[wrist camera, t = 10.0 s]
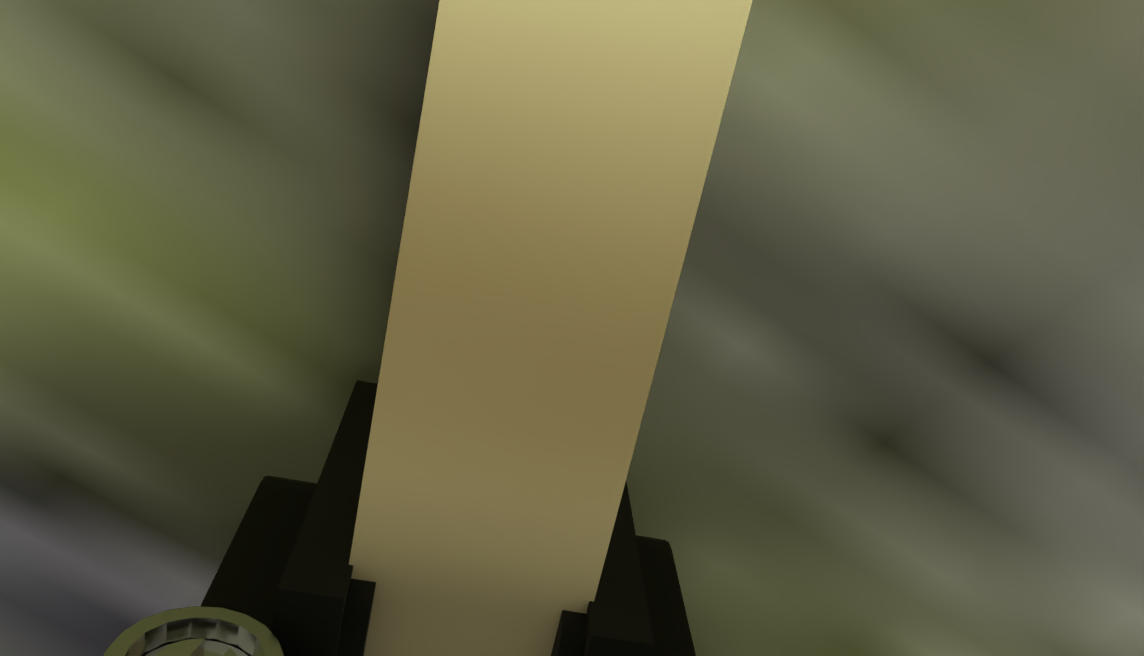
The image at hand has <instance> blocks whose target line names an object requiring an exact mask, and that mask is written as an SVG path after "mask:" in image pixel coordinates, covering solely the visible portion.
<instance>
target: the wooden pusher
mask: <svg viewBox="0 0 1144 656" xmlns="http://www.w3.org/2000/svg"><path fill="white" fill-rule="evenodd" d="M752 1H753V0H440V1H439V7H438V13H437V20H436V26H435V32H434V38H433V45H432V51H431V57H430V63H429V69H428V76H427V82H426V88H425V94H424V101H423V107H422V113H421V119H420V125H419V132H418V138H417V144H416V150H415V156H414V163H413V169H412V175H411V181H410V188H409V194H408V200H407V206H406V212H405V219H404V225H403V231H402V237H401V243H400V250H399V256H398V262H397V268H396V275H395V281H394V287H393V293H392V299H391V306H390V312H389V318H388V324H387V330H386V337H385V343H384V349H383V355H382V362H381V368H380V374H379V380H378V386H377V393H376V399H375V405H374V411H373V417H372V424H371V430H370V436H369V442H368V449H367V455H366V461H365V467H364V473H363V480H362V486H361V492H360V498H359V504H358V511H357V517H356V523H355V529H354V536H353V542H352V548H351V554H350V560H349V565H353V571H352V577H351V578H352V579H359V580H366V581H372V582H376V587H375V593H374V599H373V604H372V610H371V616H370V622H369V627H368V633H367V639H366V645H365V651H364V656H551V653H552V649H553V645H554V641H555V637H556V633H557V629H558V625H559V621H560V617H561V613H562V610H566V611H572V612H579V613H586V614H587V608H588V604H589V601H593V602H594V600H595V596H596V592H597V588H598V584H599V581H600V577H601V573H602V569H603V565H604V562H605V558H606V554H607V550H608V546H609V543H610V539H611V535H612V531H613V527H614V524H615V520H616V516H617V512H618V509H619V505H620V501H621V497H622V493H623V490H624V486H625V482H626V478H627V474H628V471H629V467H630V463H631V459H632V455H633V452H634V448H635V444H636V440H637V437H638V433H639V429H640V425H641V421H642V418H643V414H644V410H645V406H646V402H647V399H648V395H649V391H650V387H651V383H652V380H653V376H654V372H655V368H656V365H657V361H658V357H659V353H660V349H661V346H662V342H663V338H664V334H665V330H666V327H667V323H668V319H669V315H670V311H671V308H672V304H673V300H674V296H675V293H676V289H677V285H678V281H679V277H680V274H681V270H682V266H683V262H684V258H685V255H686V251H687V247H688V243H689V239H690V236H691V232H692V228H693V224H694V221H695V217H696V213H697V209H698V205H699V202H700V198H701V194H702V190H703V186H704V183H705V179H706V175H707V171H708V167H709V164H710V160H711V156H712V152H713V149H714V145H715V141H716V137H717V133H718V130H719V126H720V122H721V118H722V114H723V111H724V107H725V103H726V99H727V95H728V92H729V88H730V84H731V80H732V77H733V73H734V69H735V65H736V61H737V58H738V54H739V50H740V46H741V42H742V39H743V35H744V31H745V27H746V23H747V20H748V16H749V12H750V8H751V4H752Z"/></svg>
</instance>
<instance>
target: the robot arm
mask: <svg viewBox="0 0 1144 656" xmlns="http://www.w3.org/2000/svg"><path fill="white" fill-rule="evenodd" d="M377 386H378V384H375V383H369V382H364V381H358V380H357V382H356V384H355V387H354V389H353V392H352V394H351V397H350V400H349V402H348V405H347V407H346V410H345V413H344V415H343V418H342V421H341V423H340V426H339V428H338V431H337V434H336V436H335V439H334V442H333V444H332V447H331V449H330V452H329V455H328V457H327V460H326V462H325V465H324V468H323V470H322V473H321V476H320V478H319V481H318V483H317V484H316V483H310V482H304V481H298V480H291V479H285V478H279V477H273V476H265V477H264V478H263V480H262V481H261V483H260V485H259V487H258V489H257V491H256V493H255V495H254V497H253V499H252V501H251V503H250V505H249V507H248V509H247V511H246V513H245V516H244V518H243V520H242V522H241V524H240V526H239V528H238V530H237V532H236V534H235V536H234V538H233V540H232V542H231V544H230V546H229V549H228V551H227V553H226V555H225V557H224V559H223V561H222V563H221V565H220V567H219V569H218V571H217V573H216V575H215V577H214V579H213V582H212V584H211V586H210V588H209V590H208V592H207V594H206V596H205V598H204V600H203V602H202V604H201V606H194V607H186V608H179V609H171V610H167V611H164V612H161V613H158V614H155V615H152V616H149V617H147V618H144V619H142V620H141V621H139V622H137V623H136V624H134V625H133V626H131V627H129V628H128V629H126V630H124V631H123V632H122V633H121V634H120V635H119V636H118V637H117V639H116V640H115V641H114V642H113V643H112V644H111V645H110V646H109V647H108V649H107V650H106V652H105V653H104V655H103V656H364V651H365V645H366V639H367V633H368V627H369V622H370V616H371V610H372V604H373V599H374V593H375V587H376V582H372V581H366V580H359V579H352V578H351V577H352V571H353V565H349V560H350V554H351V548H352V542H353V536H354V529H355V523H356V517H357V511H358V504H359V498H360V492H361V486H362V480H363V473H364V467H365V461H366V455H367V449H368V442H369V436H370V430H371V424H372V417H373V411H374V405H375V399H376V393H377ZM551 656H696V655H695V651H694V646H693V642H692V638H691V633H690V629H689V624H688V620H687V616H686V611H685V607H684V602H683V598H682V594H681V589H680V585H679V580H678V576H677V571H676V567H675V563H674V558H673V554H672V550H671V547H670V544H669V542H667V541H665V540H661V539H655V538H649V537H642V536H636V535H635V529H634V523H633V518H632V512H631V506H630V500H629V494H628V489H627V483H626V482H625V486H624V490H623V493H622V497H621V501H620V505H619V509H618V512H617V516H616V520H615V524H614V527H613V531H612V535H611V539H610V543H609V546H608V550H607V554H606V558H605V562H604V565H603V569H602V573H601V577H600V581H599V584H598V588H597V592H596V596H595V600H594V602H593V601H589V604H588V608H587V614H586V613H579V612H572V611H566V610H562V613H561V617H560V621H559V625H558V629H557V633H556V637H555V641H554V645H553V649H552V653H551Z"/></svg>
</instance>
